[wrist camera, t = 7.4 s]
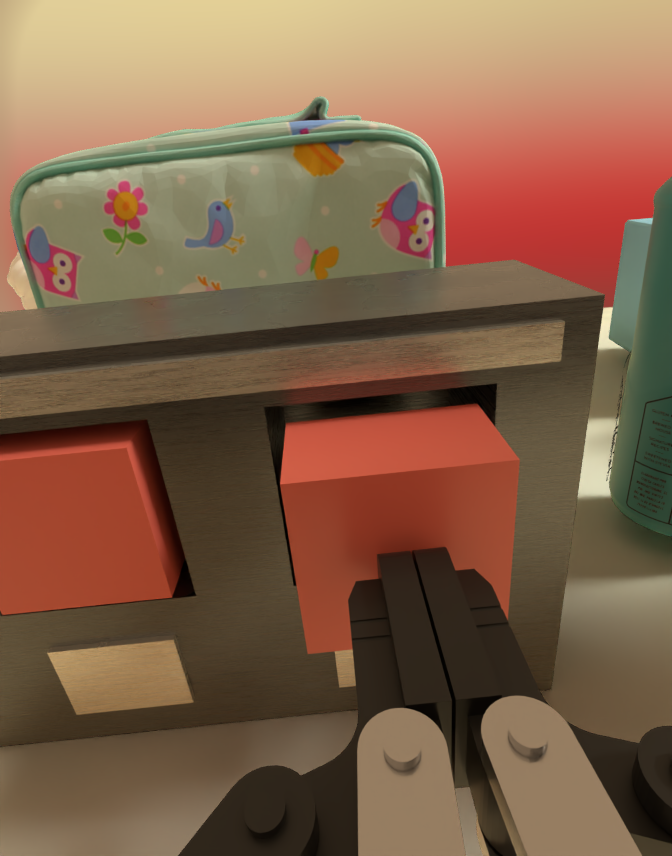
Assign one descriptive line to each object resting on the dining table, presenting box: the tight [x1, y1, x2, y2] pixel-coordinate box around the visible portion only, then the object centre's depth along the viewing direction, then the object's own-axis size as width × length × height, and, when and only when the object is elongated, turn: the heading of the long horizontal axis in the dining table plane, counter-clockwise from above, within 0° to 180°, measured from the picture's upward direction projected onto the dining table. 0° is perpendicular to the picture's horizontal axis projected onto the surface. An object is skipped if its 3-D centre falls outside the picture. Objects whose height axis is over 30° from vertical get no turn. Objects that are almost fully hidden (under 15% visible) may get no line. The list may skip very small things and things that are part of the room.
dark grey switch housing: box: [0, 260, 605, 747], centre depth 18 cm, size 20×6×14 cm, turn 93°
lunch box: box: [10, 97, 446, 308], centre depth 35 cm, size 27×10×21 cm, turn 91°
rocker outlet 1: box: [0, 419, 185, 615], centre depth 16 cm, size 5×5×5 cm
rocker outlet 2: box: [280, 403, 520, 654], centre depth 14 cm, size 5×5×5 cm
